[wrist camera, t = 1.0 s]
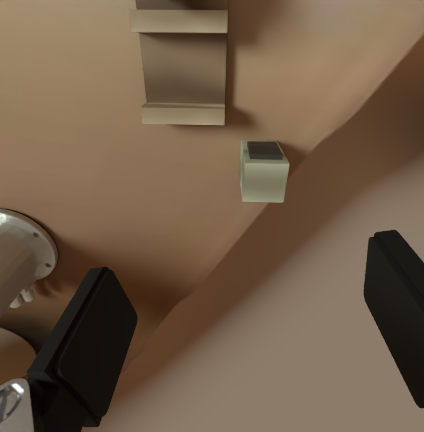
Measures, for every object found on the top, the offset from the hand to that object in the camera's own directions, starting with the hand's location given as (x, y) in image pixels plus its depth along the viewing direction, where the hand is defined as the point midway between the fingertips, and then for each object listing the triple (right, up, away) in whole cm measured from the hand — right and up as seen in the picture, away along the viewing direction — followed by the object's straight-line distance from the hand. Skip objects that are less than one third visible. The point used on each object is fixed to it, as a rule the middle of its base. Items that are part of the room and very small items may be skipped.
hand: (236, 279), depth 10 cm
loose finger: (+4, +9, +22) cm, 24 cm away
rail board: (-4, +20, +15) cm, 26 cm away
